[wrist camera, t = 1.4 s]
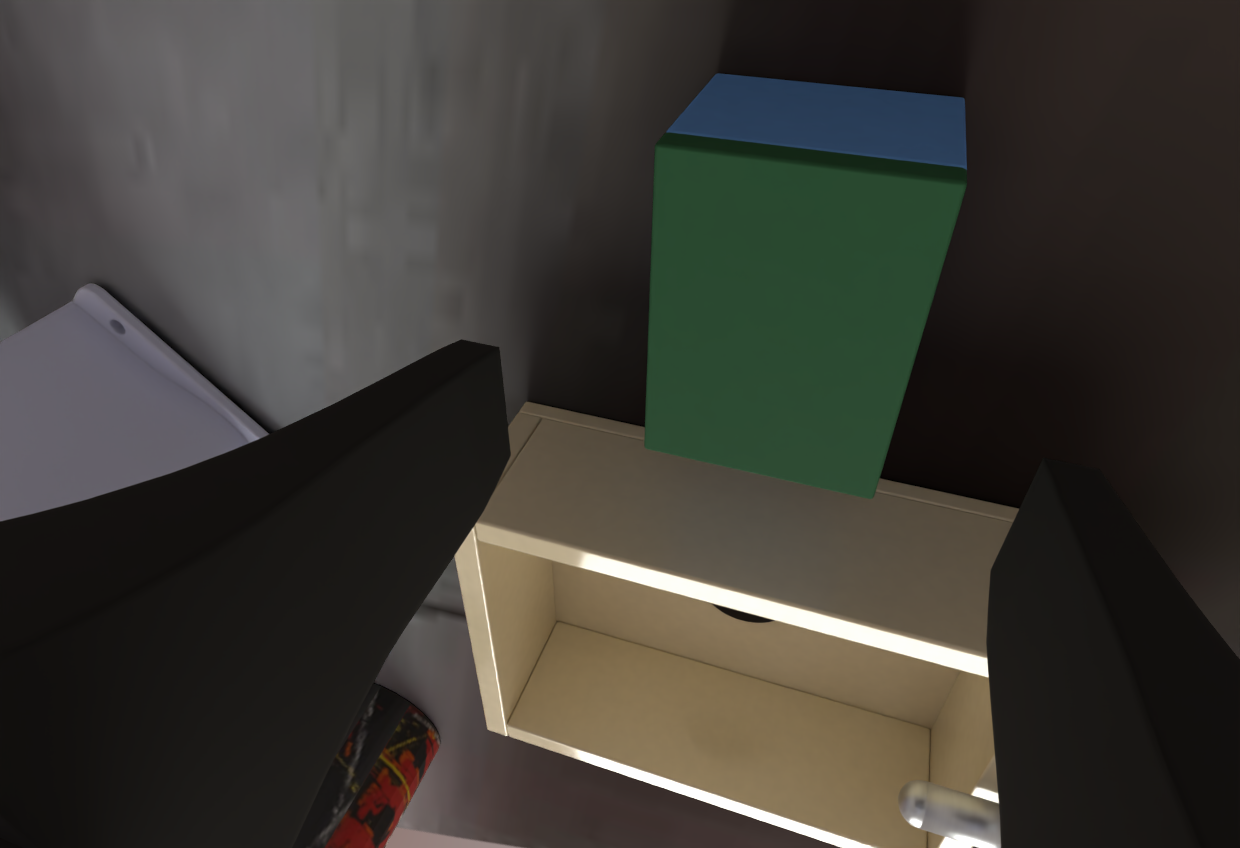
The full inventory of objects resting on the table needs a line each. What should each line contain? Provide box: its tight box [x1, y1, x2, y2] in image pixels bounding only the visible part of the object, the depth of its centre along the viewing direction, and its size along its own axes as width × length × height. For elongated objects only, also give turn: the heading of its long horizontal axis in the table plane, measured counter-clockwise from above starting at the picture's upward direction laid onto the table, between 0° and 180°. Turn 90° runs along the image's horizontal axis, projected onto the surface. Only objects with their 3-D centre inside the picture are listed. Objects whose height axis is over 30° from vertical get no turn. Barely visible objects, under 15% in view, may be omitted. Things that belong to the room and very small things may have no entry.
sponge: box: [644, 73, 967, 499], centre depth 14 cm, size 6×4×4 cm
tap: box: [711, 603, 1001, 848], centre depth 19 cm, size 11×3×7 cm, turn 89°
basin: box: [455, 402, 1019, 848], centre depth 21 cm, size 13×9×4 cm
